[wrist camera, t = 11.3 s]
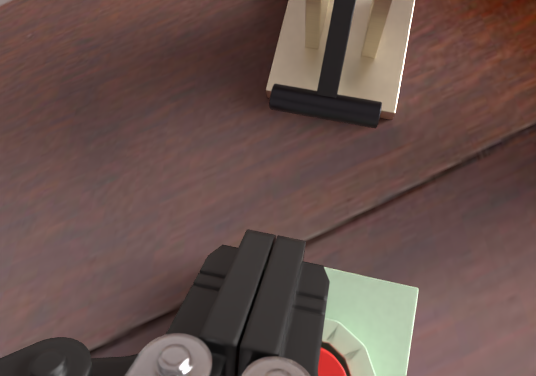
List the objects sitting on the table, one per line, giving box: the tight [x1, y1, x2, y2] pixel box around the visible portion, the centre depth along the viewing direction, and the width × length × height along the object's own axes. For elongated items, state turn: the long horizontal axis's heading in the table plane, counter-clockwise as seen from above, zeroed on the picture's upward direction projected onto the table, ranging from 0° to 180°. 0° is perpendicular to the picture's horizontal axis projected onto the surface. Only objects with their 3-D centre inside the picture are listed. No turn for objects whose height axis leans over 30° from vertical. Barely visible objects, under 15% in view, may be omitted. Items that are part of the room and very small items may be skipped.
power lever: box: [269, 0, 382, 128], centre depth 23 cm, size 12×6×2 cm, turn 167°
